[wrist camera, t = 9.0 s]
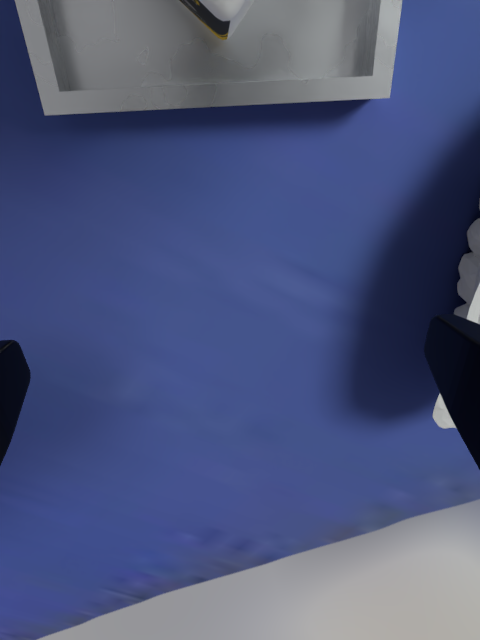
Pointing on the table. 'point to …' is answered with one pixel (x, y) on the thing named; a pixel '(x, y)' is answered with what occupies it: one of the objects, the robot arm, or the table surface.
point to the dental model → (476, 289)
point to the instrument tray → (206, 54)
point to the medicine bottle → (219, 14)
